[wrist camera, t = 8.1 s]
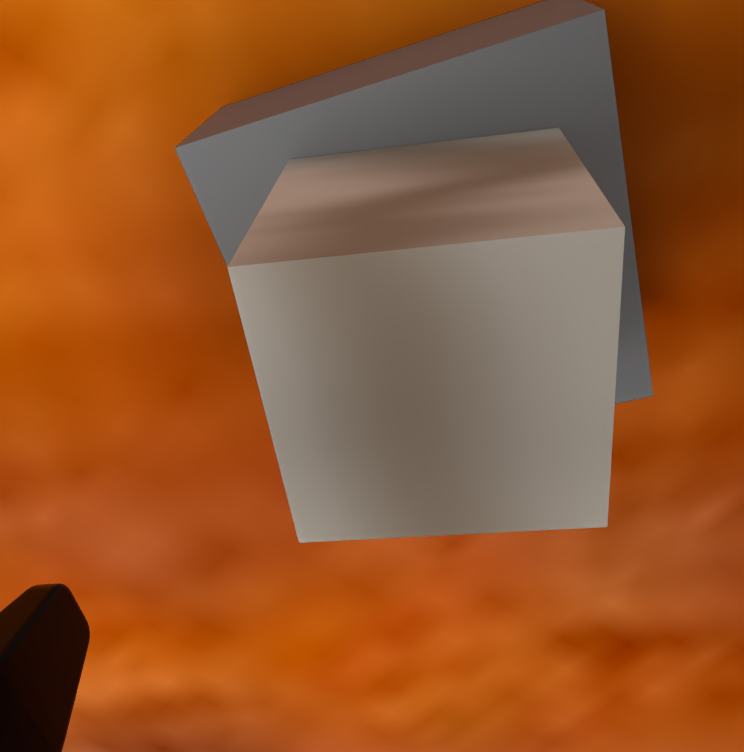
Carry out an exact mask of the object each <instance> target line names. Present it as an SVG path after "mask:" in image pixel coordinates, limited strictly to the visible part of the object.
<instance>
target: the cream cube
mask: <svg viewBox="0 0 744 752" xmlns="http://www.w3.org/2000/svg"><path fill="white" fill-rule="evenodd" d="M624 237H625V226H624V224H623V223H622V221H621V220H620V218H619V217H618V215H617V214H616V212H615V211H614V209H613V208H612V206H611V205H610V203H609V202H608V200H607V199H606V197H605V196H604V194H603V193H602V191H601V190H600V188H599V187H598V185H597V184H596V182H595V181H594V179H593V178H592V176H591V175H590V174H589V172H588V171H587V169H586V168H585V166H584V165H583V163H582V162H581V160H580V159H579V157H578V156H577V154H576V153H575V151H574V150H573V148H572V147H571V145H570V144H569V142H568V141H567V139H566V138H565V136H564V135H563V133H562V132H561V130H560V129H559V128H550V129H542V130H534V131H525V132H517V133H508V134H500V135H492V136H483V137H475V138H467V139H458V140H450V141H441V142H433V143H425V144H416V145H408V146H400V147H391V148H383V149H374V150H366V151H358V152H349V153H341V154H332V155H324V156H316V157H307V158H299V159H291V160H289V161H288V162H287V164H286V166H285V168H284V169H283V171H282V173H281V175H280V176H279V178H278V180H277V182H276V183H275V185H274V187H273V189H272V190H271V192H270V194H269V195H268V197H267V199H266V201H265V202H264V204H263V206H262V208H261V209H260V211H259V213H258V215H257V216H256V218H255V220H254V222H253V223H252V225H251V227H250V229H249V230H248V232H247V234H246V236H245V237H244V239H243V241H242V242H241V244H240V246H239V248H238V249H237V251H236V253H235V255H234V256H233V258H232V260H231V262H230V263H229V265H228V267H227V268H228V272H229V275H230V279H231V283H232V287H233V291H234V295H235V298H236V302H237V306H238V310H239V314H240V318H241V321H242V325H243V329H244V333H245V337H246V341H247V344H248V348H249V352H250V356H251V360H252V364H253V368H254V371H255V375H256V379H257V383H258V387H259V391H260V394H261V398H262V402H263V406H264V410H265V414H266V417H267V421H268V425H269V429H270V433H271V437H272V440H273V444H274V448H275V452H276V456H277V460H278V463H279V467H280V471H281V475H282V479H283V483H284V487H285V490H286V494H287V498H288V502H289V506H290V510H291V513H292V517H293V521H294V525H295V529H296V533H297V536H298V540H299V543H302V542H322V541H341V540H361V539H380V538H400V537H420V536H439V535H459V534H479V533H498V532H518V531H537V530H557V529H577V528H596V527H607V523H608V507H609V490H610V473H611V456H612V439H613V423H614V406H615V389H616V372H617V355H618V338H619V322H620V305H621V288H622V271H623V254H624Z"/></svg>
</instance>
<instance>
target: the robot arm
mask: <svg viewBox="0 0 744 752" xmlns="http://www.w3.org/2000/svg"><path fill="white" fill-rule="evenodd" d="M89 638H90V631H89V625H88V622H87V620H86V618H85V616H84V615H83V613H82V611H81V609H80V607H79V605H78V604H77V602H76V600H75V598H74V596H73V594H72V593H71V591H70V589H69V588H68V587H67V586H65V585H64V584H44V585H36V586H33V587H31V588H29V589H28V590H26V591H25V592H24V593H23V594H21V595H20V596H19V597H18V598H17V599H15V600H14V601H13V602H12V603H11V604H9V605H8V606H7V607H6V608H4V609H3V610H2V611H1V612H0V752H62V748H63V745H64V741H65V738H66V734H67V729H68V725H69V721H70V717H71V713H72V709H73V705H74V701H75V697H76V693H77V689H78V685H79V681H80V677H81V673H82V669H83V665H84V661H85V657H86V653H87V649H88V645H89Z"/></svg>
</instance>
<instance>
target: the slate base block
mask: <svg viewBox="0 0 744 752" xmlns="http://www.w3.org/2000/svg"><path fill="white" fill-rule="evenodd" d="M550 128H559V129H560V130H561V132H562V133H563V135H564V136H565V138H566V139H567V141H568V142H569V144H570V145H571V147H572V148H573V150H574V151H575V153H576V154H577V156H578V157H579V159H580V160H581V162H582V163H583V165H584V166H585V168H586V169H587V171H588V172H589V174H590V175H591V176H592V178H593V179H594V181H595V182H596V184H597V185H598V187H599V188H600V190H601V191H602V193H603V194H604V196H605V197H606V199H607V200H608V202H609V203H610V205H611V206H612V208H613V209H614V211H615V212H616V214H617V215H618V217H619V218H620V220H621V221H622V223H623V224H624V226H625V237H624V254H623V271H622V288H621V305H620V322H619V338H618V355H617V372H616V389H615V404H617V403H621V402H626V401H631V400H636V399H641V398H645V397H650V396H653V389H652V381H651V373H650V365H649V357H648V350H647V342H646V334H645V326H644V318H643V310H642V302H641V294H640V286H639V278H638V270H637V262H636V254H635V246H634V238H633V231H632V223H631V215H630V207H629V199H628V191H627V183H626V175H625V167H624V159H623V151H622V143H621V135H620V127H619V119H618V111H617V104H616V96H615V88H614V80H613V72H612V64H611V56H610V48H609V40H608V32H607V24H606V16H605V9H603V8H600V7H598V6H596V5H593V4H591V3H589V2H586V1H584V0H544V1H541V2H538V3H535V4H532V5H529V6H526V7H523V8H520V9H517V10H514V11H511V12H508V13H505V14H502V15H499V16H496V17H493V18H490V19H487V20H484V21H481V22H478V23H475V24H472V25H469V26H466V27H463V28H460V29H457V30H454V31H451V32H448V33H445V34H442V35H439V36H436V37H433V38H430V39H426V40H423V41H420V42H417V43H414V44H411V45H408V46H405V47H402V48H399V49H396V50H393V51H390V52H387V53H384V54H381V55H378V56H375V57H372V58H369V59H366V60H363V61H360V62H357V63H354V64H351V65H348V66H345V67H342V68H339V69H336V70H333V71H330V72H327V73H324V74H321V75H318V76H315V77H312V78H309V79H306V80H303V81H300V82H297V83H294V84H290V85H287V86H284V87H281V88H278V89H275V90H272V91H269V92H266V93H263V94H260V95H257V96H254V97H251V98H248V99H245V100H242V101H239V102H236V103H233V104H230V105H227V106H224V107H221V108H220V109H219V110H218V111H217V112H216V113H214V114H213V115H212V116H211V117H210V118H209V119H207V120H206V121H205V122H204V123H203V124H202V125H201V126H199V127H198V128H197V129H196V130H195V131H194V132H192V133H191V134H190V135H189V136H188V137H187V138H186V139H184V140H183V141H182V142H181V143H180V144H179V145H177V146H176V147H175V150H176V152H177V154H178V157H179V159H180V161H181V163H182V166H183V168H184V170H185V172H186V175H187V177H188V179H189V181H190V184H191V186H192V188H193V190H194V193H195V195H196V197H197V199H198V201H199V204H200V206H201V208H202V210H203V213H204V215H205V217H206V219H207V222H208V224H209V226H210V228H211V231H212V233H213V235H214V237H215V240H216V242H217V244H218V246H219V249H220V251H221V253H222V255H223V258H224V260H225V262H226V264H227V267H228V265H229V263H230V262H231V260H232V258H233V256H234V255H235V253H236V251H237V249H238V248H239V246H240V244H241V242H242V241H243V239H244V237H245V236H246V234H247V232H248V230H249V229H250V227H251V225H252V223H253V222H254V220H255V218H256V216H257V215H258V213H259V211H260V209H261V208H262V206H263V204H264V202H265V201H266V199H267V197H268V195H269V194H270V192H271V190H272V189H273V187H274V185H275V183H276V182H277V180H278V178H279V176H280V175H281V173H282V171H283V169H284V168H285V166H286V164H287V162H288V161H289V160H291V159H299V158H307V157H316V156H324V155H332V154H341V153H349V152H358V151H366V150H374V149H383V148H391V147H400V146H408V145H416V144H425V143H433V142H441V141H450V140H458V139H467V138H475V137H483V136H492V135H500V134H508V133H517V132H525V131H534V130H542V129H550Z"/></svg>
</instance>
